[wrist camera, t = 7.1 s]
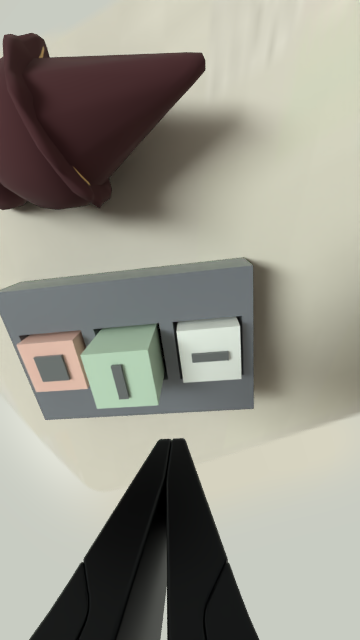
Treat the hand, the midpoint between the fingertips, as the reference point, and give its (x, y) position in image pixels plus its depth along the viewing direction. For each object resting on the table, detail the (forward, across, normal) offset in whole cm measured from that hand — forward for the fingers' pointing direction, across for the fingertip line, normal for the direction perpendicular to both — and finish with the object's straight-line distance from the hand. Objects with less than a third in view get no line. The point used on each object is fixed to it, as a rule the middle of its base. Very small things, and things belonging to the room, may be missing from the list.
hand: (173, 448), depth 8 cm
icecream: (+13, +5, -11) cm, 18 cm away
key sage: (+10, +4, +2) cm, 11 cm away
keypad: (+12, +4, +2) cm, 13 cm away
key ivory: (+12, -1, +2) cm, 13 cm away
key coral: (+12, +9, +2) cm, 16 cm away
